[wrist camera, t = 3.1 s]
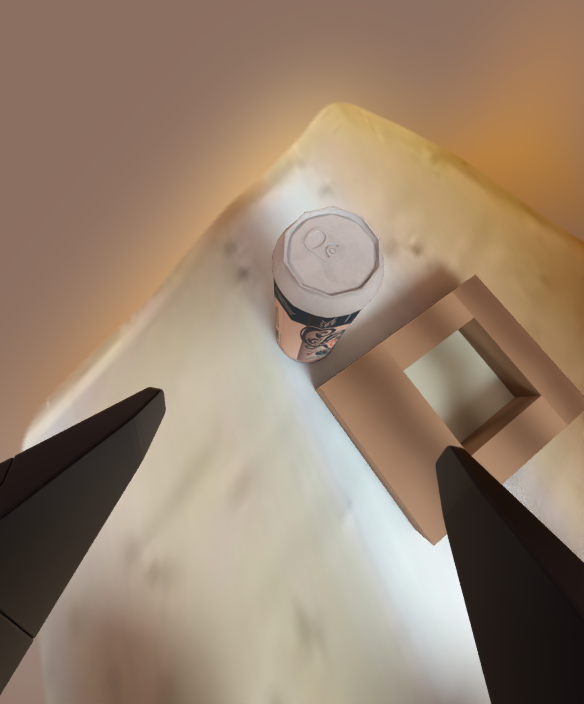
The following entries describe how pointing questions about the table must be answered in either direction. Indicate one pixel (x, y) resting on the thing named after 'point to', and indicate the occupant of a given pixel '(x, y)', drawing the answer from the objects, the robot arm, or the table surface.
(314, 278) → the beer can
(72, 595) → the table surface
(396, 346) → the socket board
